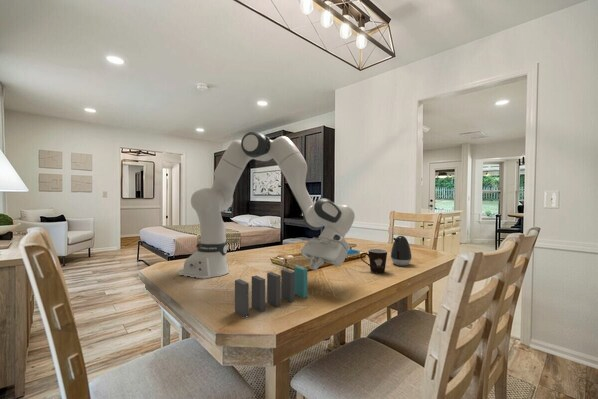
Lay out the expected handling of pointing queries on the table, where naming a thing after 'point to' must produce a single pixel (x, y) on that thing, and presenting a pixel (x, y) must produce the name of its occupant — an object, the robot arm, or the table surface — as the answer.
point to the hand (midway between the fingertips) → (312, 268)
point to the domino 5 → (300, 281)
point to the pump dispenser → (401, 251)
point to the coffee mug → (376, 260)
